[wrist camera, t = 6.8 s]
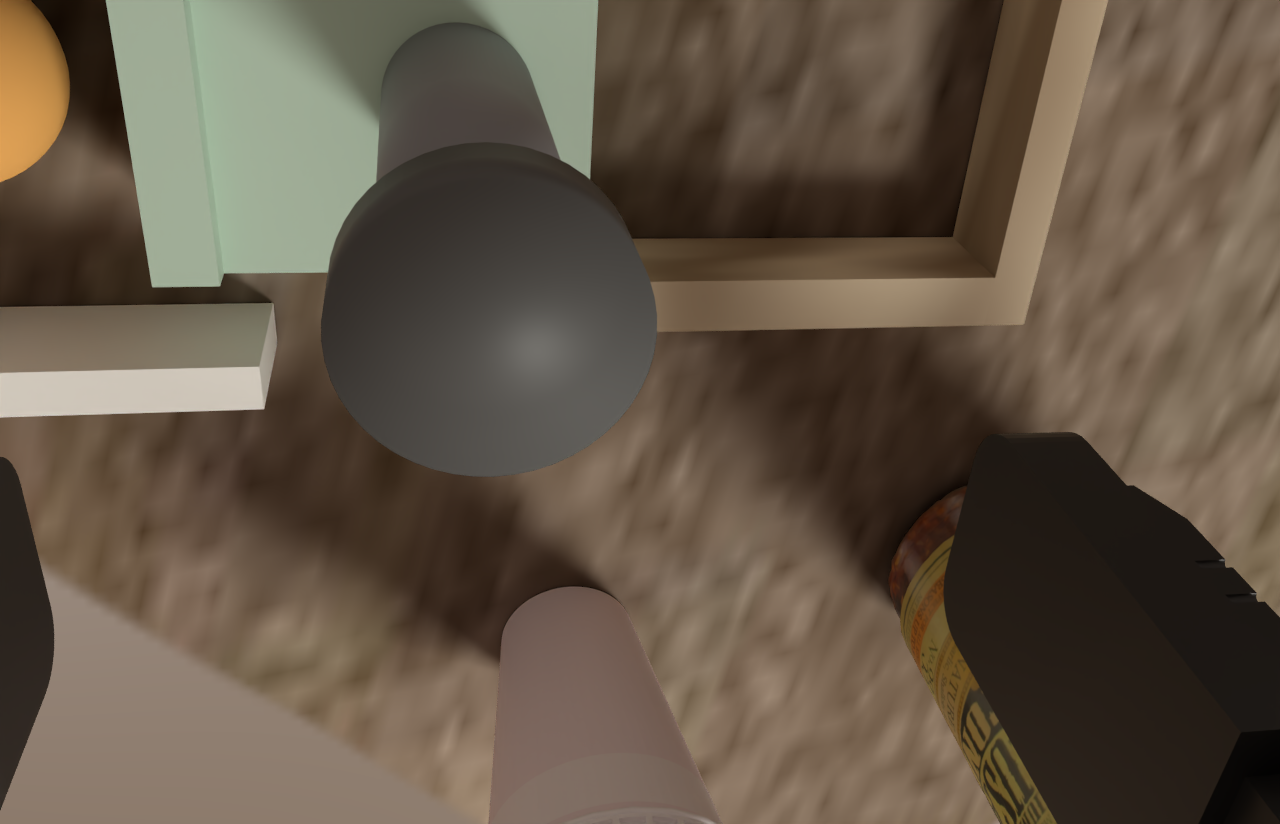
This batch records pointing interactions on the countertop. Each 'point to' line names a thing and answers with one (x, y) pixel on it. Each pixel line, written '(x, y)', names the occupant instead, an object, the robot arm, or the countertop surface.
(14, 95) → the ball
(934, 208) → the countertop surface
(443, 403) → the striker
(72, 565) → the countertop surface
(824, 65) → the countertop surface
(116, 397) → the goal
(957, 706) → the sauce bottle
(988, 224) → the wooden rectangular frame
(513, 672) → the smoothie
